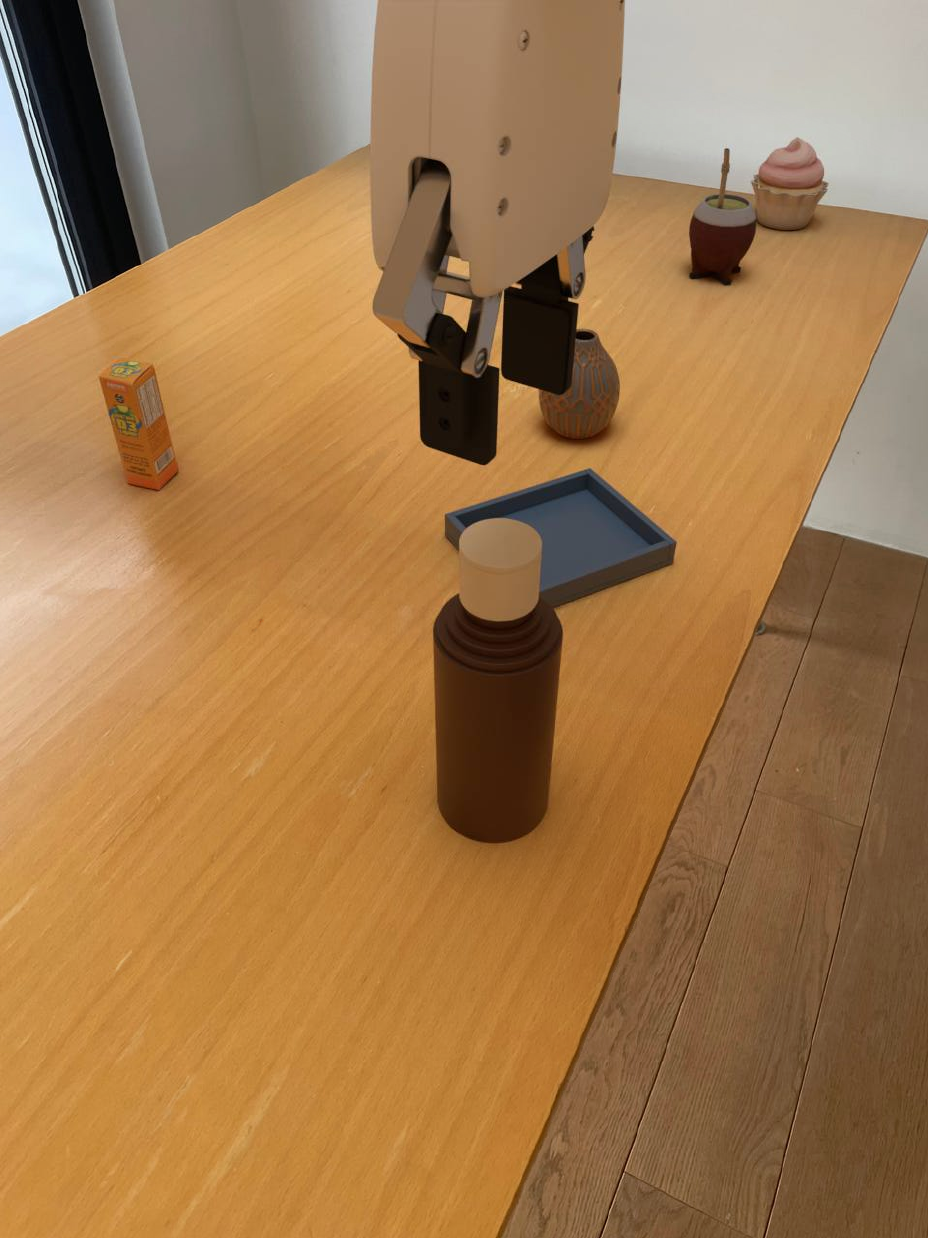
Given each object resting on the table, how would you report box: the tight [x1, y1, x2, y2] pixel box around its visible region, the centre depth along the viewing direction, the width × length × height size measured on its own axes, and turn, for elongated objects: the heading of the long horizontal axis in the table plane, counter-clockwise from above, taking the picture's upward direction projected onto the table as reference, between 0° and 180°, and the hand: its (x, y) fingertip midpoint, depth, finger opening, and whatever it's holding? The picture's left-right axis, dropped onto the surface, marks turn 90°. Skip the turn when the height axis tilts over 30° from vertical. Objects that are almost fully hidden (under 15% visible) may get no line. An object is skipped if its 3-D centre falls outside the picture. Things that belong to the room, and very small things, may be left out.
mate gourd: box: [688, 147, 757, 286], centre depth 109 cm, size 8×8×15 cm
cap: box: [458, 518, 542, 622], centre depth 47 cm, size 4×4×3 cm
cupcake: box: [750, 136, 830, 231], centre depth 123 cm, size 9×9×10 cm
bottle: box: [432, 592, 564, 843], centre depth 52 cm, size 6×6×18 cm
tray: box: [444, 467, 678, 609], centre depth 75 cm, size 13×11×2 cm
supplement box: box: [98, 357, 179, 491], centre depth 80 cm, size 3×3×10 cm
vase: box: [538, 328, 621, 440], centre depth 86 cm, size 7×7×9 cm
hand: (498, 413), depth 42 cm, fingers open, 5 cm apart
